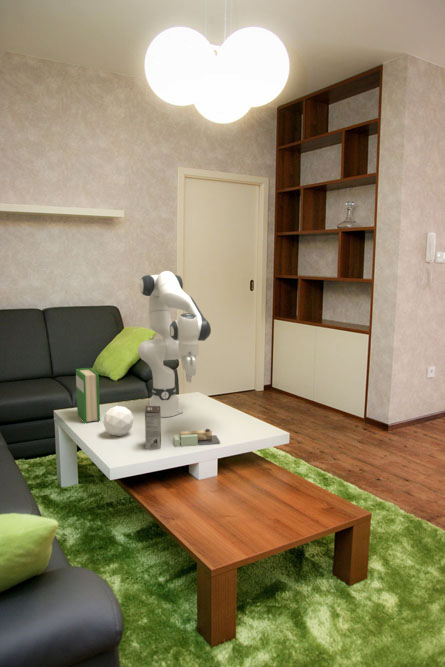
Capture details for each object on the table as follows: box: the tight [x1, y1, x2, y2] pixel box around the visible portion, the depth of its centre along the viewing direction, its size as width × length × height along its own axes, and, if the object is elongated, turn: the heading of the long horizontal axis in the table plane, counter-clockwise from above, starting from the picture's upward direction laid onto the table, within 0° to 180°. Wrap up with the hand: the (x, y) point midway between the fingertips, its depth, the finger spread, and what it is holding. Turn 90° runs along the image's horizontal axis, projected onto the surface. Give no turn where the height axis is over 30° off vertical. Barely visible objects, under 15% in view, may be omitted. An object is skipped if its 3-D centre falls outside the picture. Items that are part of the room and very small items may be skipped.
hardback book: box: [75, 367, 101, 424], centre depth 264 cm, size 18×7×24 cm, turn 27°
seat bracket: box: [172, 434, 199, 448], centre depth 226 cm, size 6×10×4 cm, turn 101°
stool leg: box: [179, 428, 213, 442], centre depth 228 cm, size 14×4×4 cm, turn 102°
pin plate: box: [198, 434, 221, 446], centre depth 229 cm, size 9×9×1 cm
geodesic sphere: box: [102, 404, 135, 437], centre depth 238 cm, size 14×14×14 cm
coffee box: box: [144, 405, 162, 450], centre depth 223 cm, size 9×6×16 cm
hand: (188, 381), depth 233 cm, fingers closed
